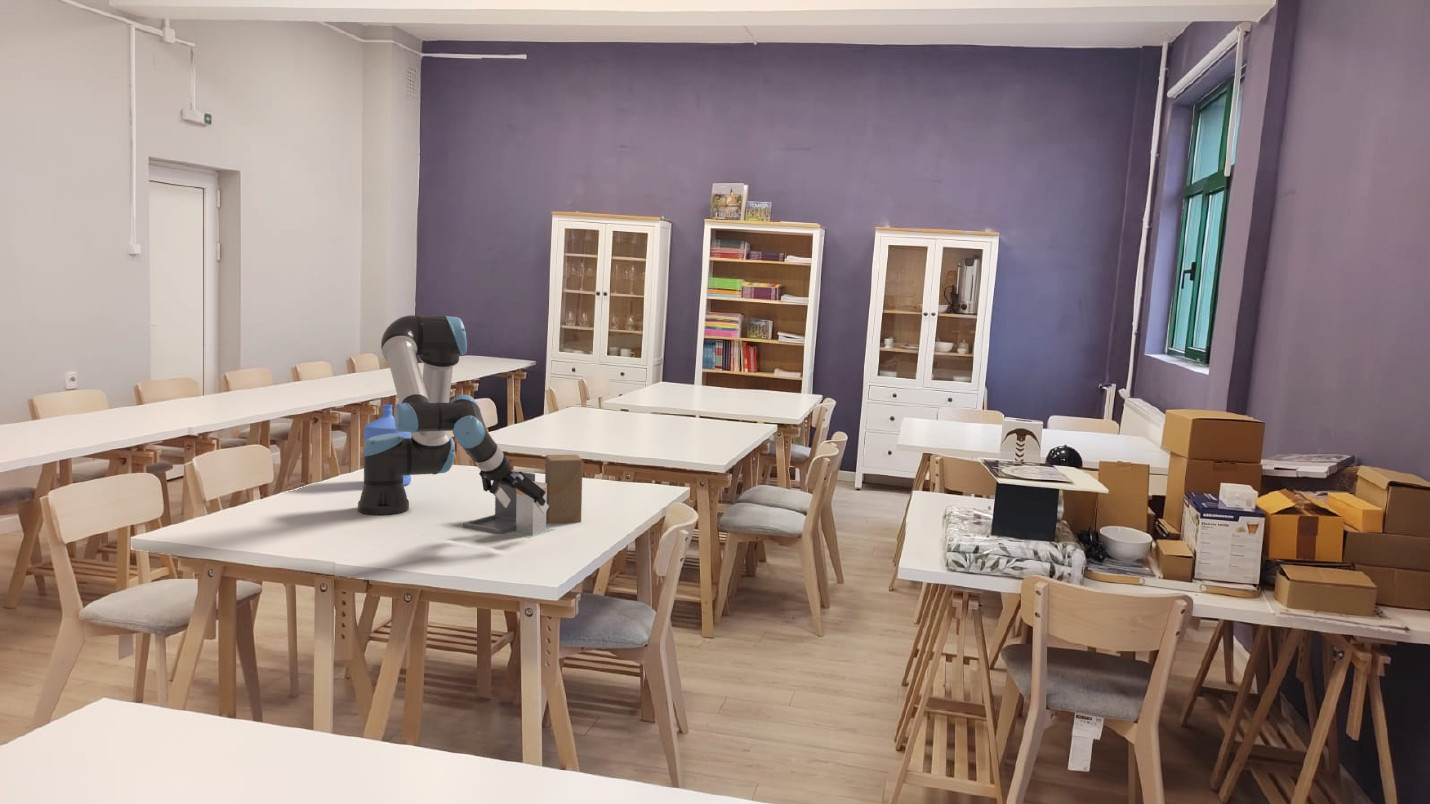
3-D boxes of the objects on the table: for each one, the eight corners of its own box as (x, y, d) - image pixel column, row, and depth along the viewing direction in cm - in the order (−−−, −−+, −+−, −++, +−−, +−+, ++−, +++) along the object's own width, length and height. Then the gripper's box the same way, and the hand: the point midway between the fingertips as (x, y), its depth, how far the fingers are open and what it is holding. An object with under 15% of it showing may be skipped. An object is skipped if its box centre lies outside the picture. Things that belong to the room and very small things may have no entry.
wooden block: (547, 526, 295) (548, 460, 293) (544, 518, 304) (545, 454, 302) (581, 525, 297) (582, 459, 295) (576, 518, 307) (578, 454, 305)
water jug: (364, 480, 353) (364, 402, 350) (410, 479, 358) (410, 402, 354) (363, 489, 338) (362, 407, 335) (411, 487, 343) (411, 407, 340)
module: (515, 532, 283) (516, 483, 281) (529, 528, 288) (530, 480, 286) (532, 535, 280) (533, 486, 278) (546, 531, 285) (547, 483, 284)
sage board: (506, 537, 281) (506, 533, 280) (533, 529, 291) (533, 525, 291) (528, 541, 277) (528, 537, 277) (555, 533, 287) (555, 529, 287)
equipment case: (462, 529, 287) (462, 475, 285) (497, 520, 300) (498, 468, 299) (500, 537, 280) (500, 481, 279) (534, 526, 294) (535, 473, 292)
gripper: (449, 467, 269) (485, 512, 284) (522, 478, 258) (556, 524, 273) (463, 445, 273) (498, 490, 288) (535, 455, 262) (568, 501, 277)
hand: (526, 507), depth 281 cm, fingers open, 13 cm apart
